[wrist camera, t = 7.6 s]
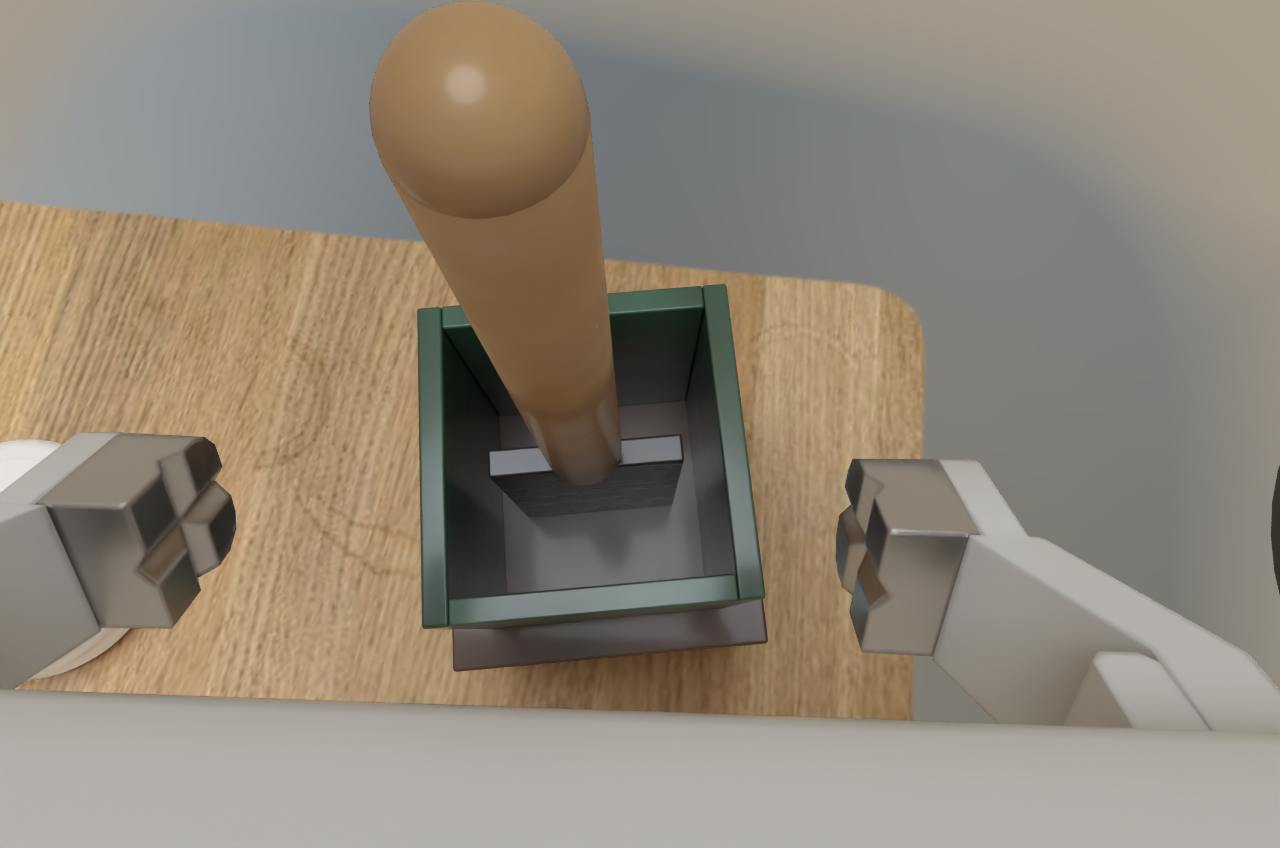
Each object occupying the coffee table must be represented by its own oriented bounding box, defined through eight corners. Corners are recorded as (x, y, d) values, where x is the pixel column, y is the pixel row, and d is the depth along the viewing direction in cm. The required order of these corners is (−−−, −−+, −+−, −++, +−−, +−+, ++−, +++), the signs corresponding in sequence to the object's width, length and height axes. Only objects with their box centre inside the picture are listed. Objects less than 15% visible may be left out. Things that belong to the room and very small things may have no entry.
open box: (707, 421, 37) (768, 235, 19) (732, 639, 34) (828, 649, 17) (496, 439, 37) (366, 266, 19) (505, 659, 34) (366, 692, 17)
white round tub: (-87, 527, 35) (-164, 516, 32) (118, 415, 37) (65, 393, 33) (-10, 724, 33) (-83, 735, 30) (205, 597, 35) (157, 594, 31)
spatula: (669, 468, 26) (769, -77, 6) (674, 521, 26) (801, 127, 5) (525, 480, 26) (133, -35, 6) (528, 534, 25) (113, 178, 5)
